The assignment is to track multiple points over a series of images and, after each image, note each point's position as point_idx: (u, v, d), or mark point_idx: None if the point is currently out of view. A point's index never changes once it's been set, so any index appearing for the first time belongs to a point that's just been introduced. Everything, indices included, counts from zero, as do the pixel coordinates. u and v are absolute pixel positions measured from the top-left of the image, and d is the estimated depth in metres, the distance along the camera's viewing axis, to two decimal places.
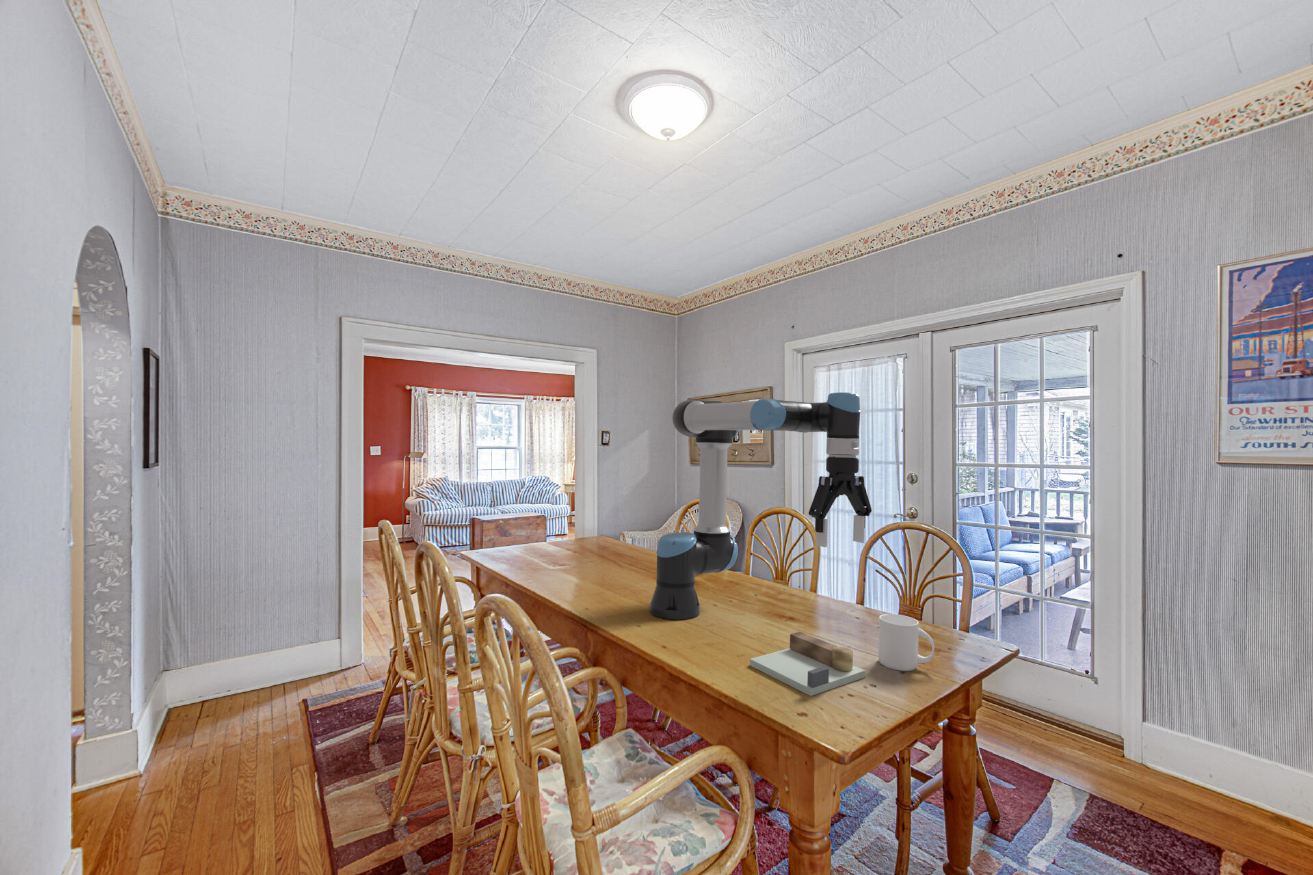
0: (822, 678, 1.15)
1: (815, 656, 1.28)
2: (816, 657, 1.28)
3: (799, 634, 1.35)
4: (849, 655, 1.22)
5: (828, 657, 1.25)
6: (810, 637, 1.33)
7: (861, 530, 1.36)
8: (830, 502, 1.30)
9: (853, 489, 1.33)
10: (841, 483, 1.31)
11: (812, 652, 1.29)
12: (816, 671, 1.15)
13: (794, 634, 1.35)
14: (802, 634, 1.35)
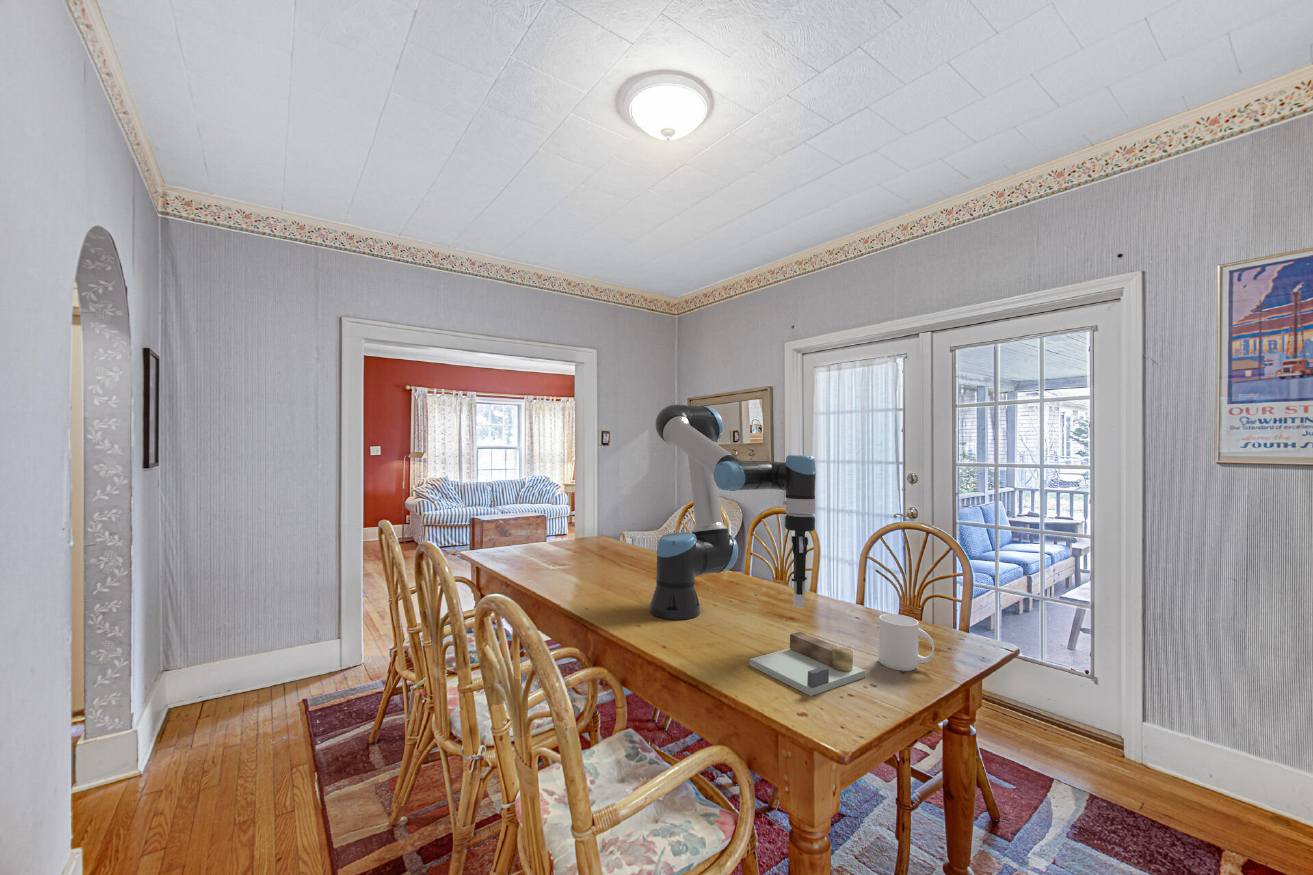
0: (822, 678, 1.15)
1: (815, 656, 1.28)
2: (816, 657, 1.28)
3: (799, 634, 1.35)
4: (849, 655, 1.22)
5: (828, 657, 1.25)
6: (810, 637, 1.33)
7: None
8: (794, 561, 1.44)
9: (793, 546, 1.42)
10: None
11: (812, 652, 1.29)
12: (816, 671, 1.15)
13: (794, 634, 1.35)
14: (802, 634, 1.35)
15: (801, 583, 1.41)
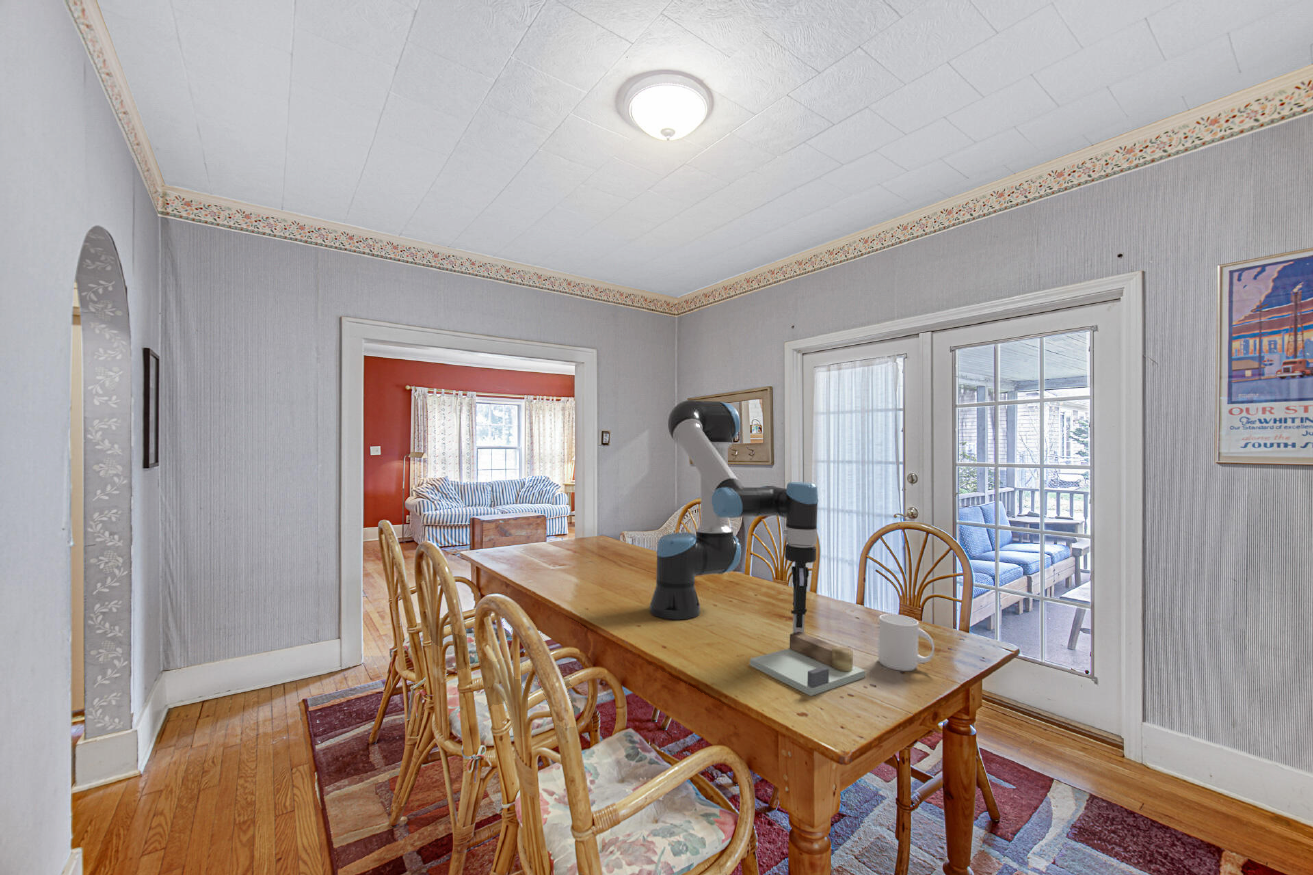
0: (822, 678, 1.15)
1: (815, 656, 1.28)
2: (816, 657, 1.28)
3: (799, 634, 1.35)
4: (850, 655, 1.22)
5: (828, 657, 1.25)
6: (810, 637, 1.33)
7: None
8: (794, 592, 1.39)
9: (793, 577, 1.37)
10: None
11: (812, 652, 1.29)
12: (816, 671, 1.15)
13: (794, 634, 1.35)
14: (802, 634, 1.35)
15: (801, 616, 1.36)
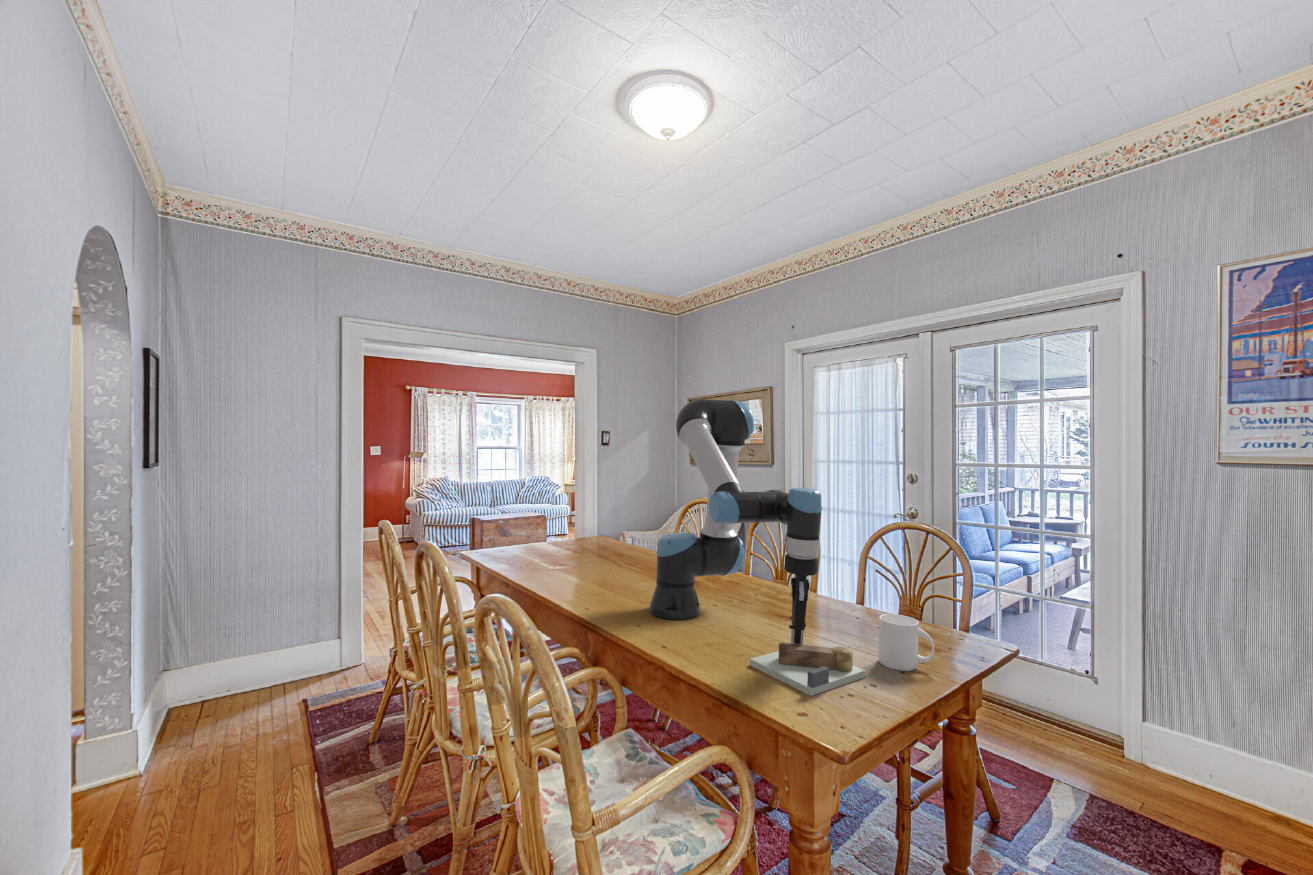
0: (822, 678, 1.15)
1: (815, 664, 1.24)
2: (816, 664, 1.24)
3: (784, 644, 1.27)
4: (852, 653, 1.23)
5: (832, 660, 1.23)
6: (797, 646, 1.27)
7: None
8: None
9: (792, 590, 1.28)
10: None
11: (810, 660, 1.24)
12: (816, 671, 1.15)
13: (782, 646, 1.26)
14: (786, 644, 1.28)
15: (800, 631, 1.27)
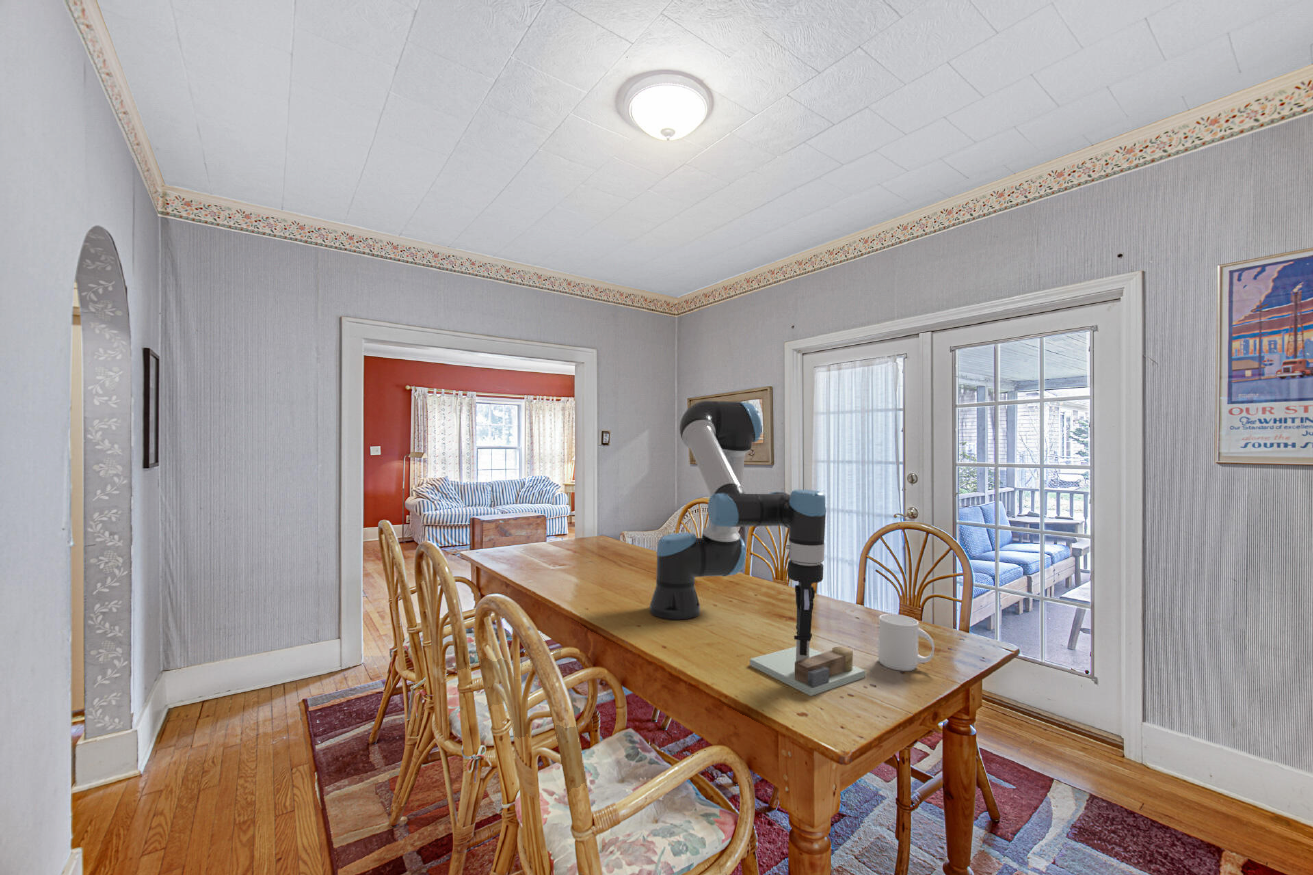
0: (822, 678, 1.15)
1: (831, 673, 1.19)
2: (832, 673, 1.19)
3: (803, 662, 1.17)
4: None
5: (842, 664, 1.21)
6: (812, 659, 1.19)
7: None
8: None
9: None
10: None
11: (829, 670, 1.19)
12: (816, 671, 1.15)
13: (807, 665, 1.16)
14: (803, 661, 1.18)
15: (805, 642, 1.19)
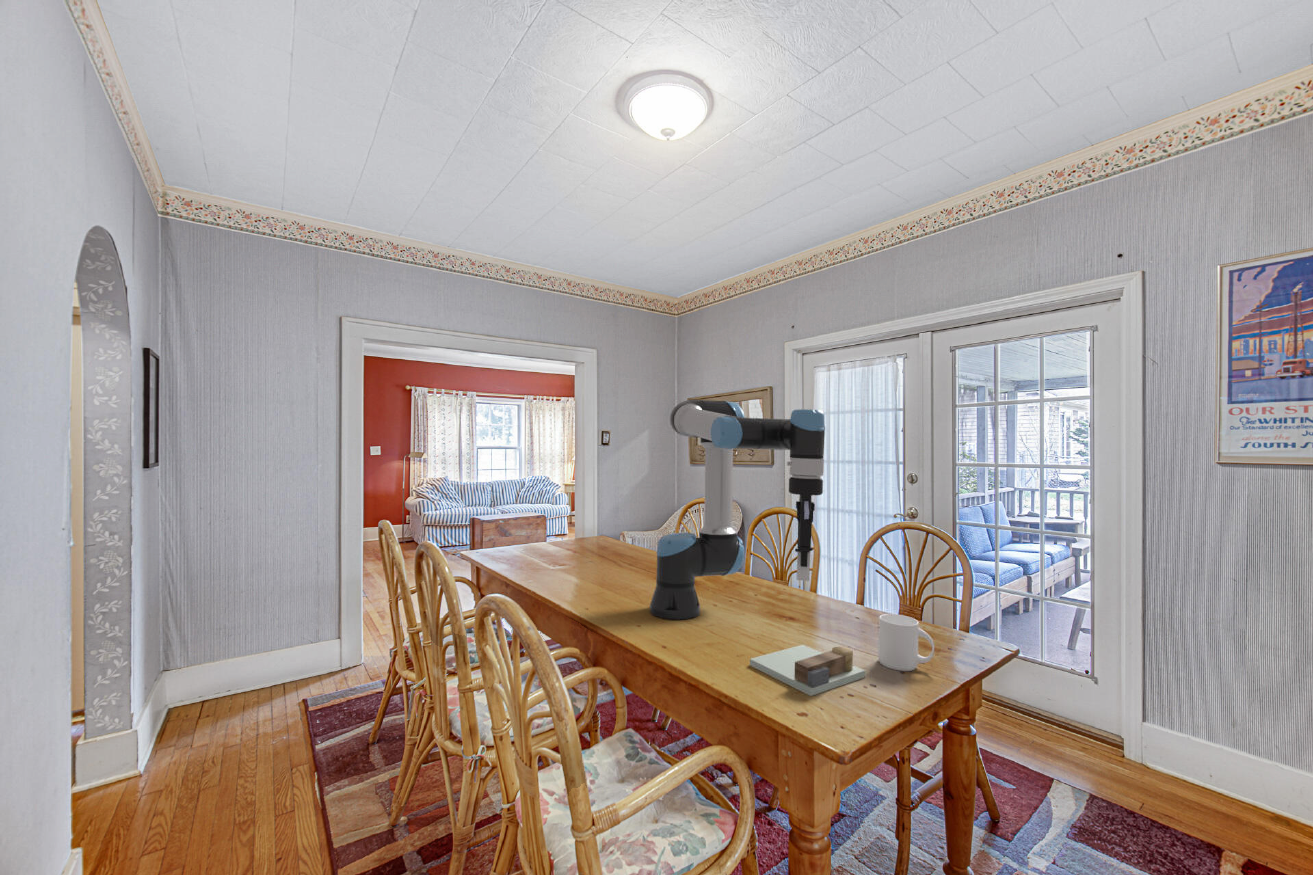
0: (822, 678, 1.15)
1: (831, 673, 1.19)
2: (832, 673, 1.19)
3: (803, 662, 1.17)
4: None
5: (842, 664, 1.21)
6: (812, 659, 1.19)
7: None
8: None
9: (797, 512, 1.26)
10: None
11: (829, 670, 1.19)
12: (816, 671, 1.15)
13: (807, 665, 1.16)
14: (803, 661, 1.18)
15: (806, 554, 1.24)
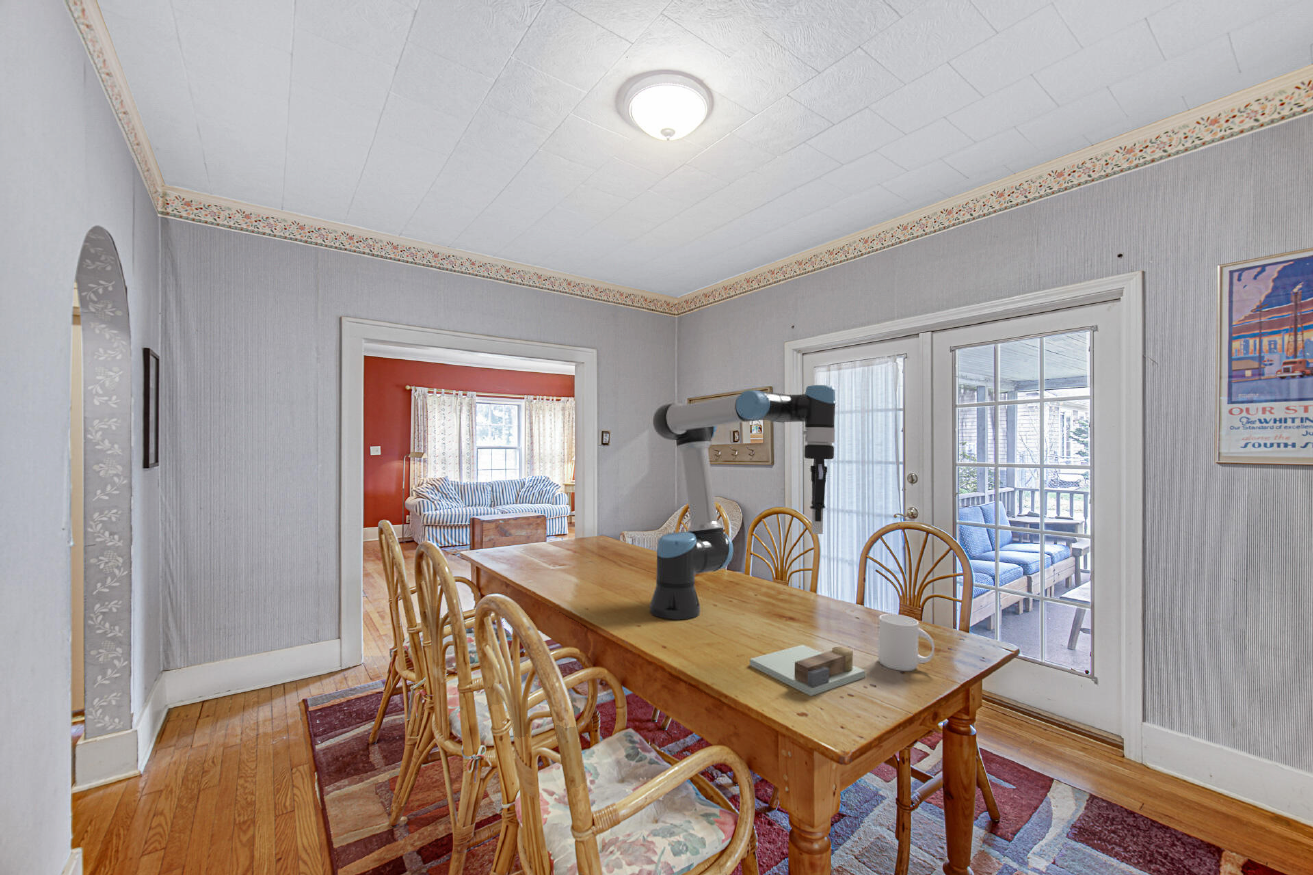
0: (822, 678, 1.15)
1: (831, 673, 1.19)
2: (832, 673, 1.19)
3: (803, 662, 1.17)
4: None
5: (842, 664, 1.21)
6: (812, 659, 1.19)
7: None
8: (812, 490, 1.47)
9: (812, 474, 1.45)
10: None
11: (829, 670, 1.19)
12: (816, 671, 1.15)
13: (807, 665, 1.16)
14: (803, 661, 1.18)
15: (820, 510, 1.43)
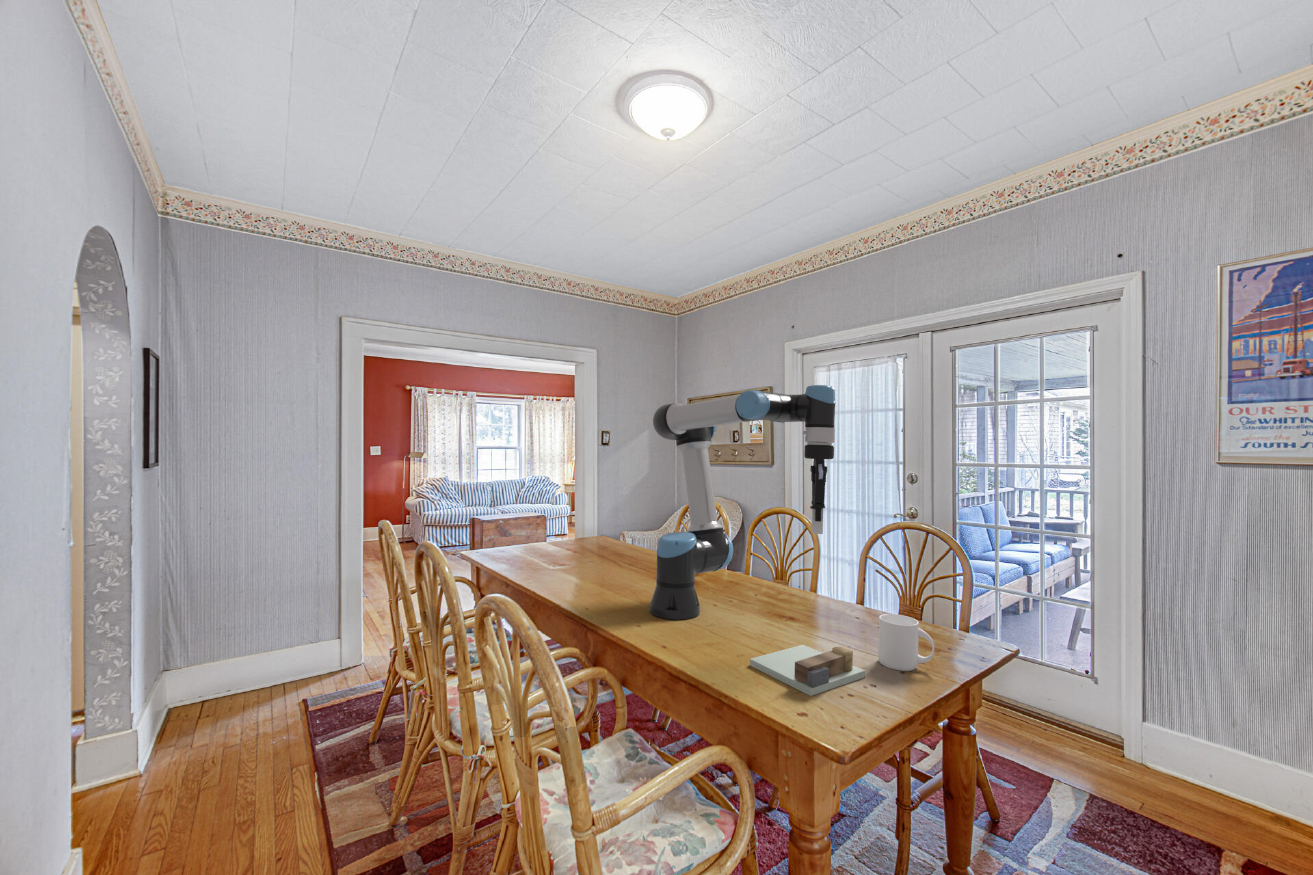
0: (822, 678, 1.15)
1: (831, 673, 1.19)
2: (832, 673, 1.19)
3: (803, 662, 1.17)
4: None
5: (842, 664, 1.21)
6: (812, 659, 1.19)
7: None
8: (812, 490, 1.47)
9: (812, 474, 1.45)
10: None
11: (829, 670, 1.19)
12: (816, 671, 1.15)
13: (807, 665, 1.16)
14: (803, 661, 1.18)
15: (820, 510, 1.43)
